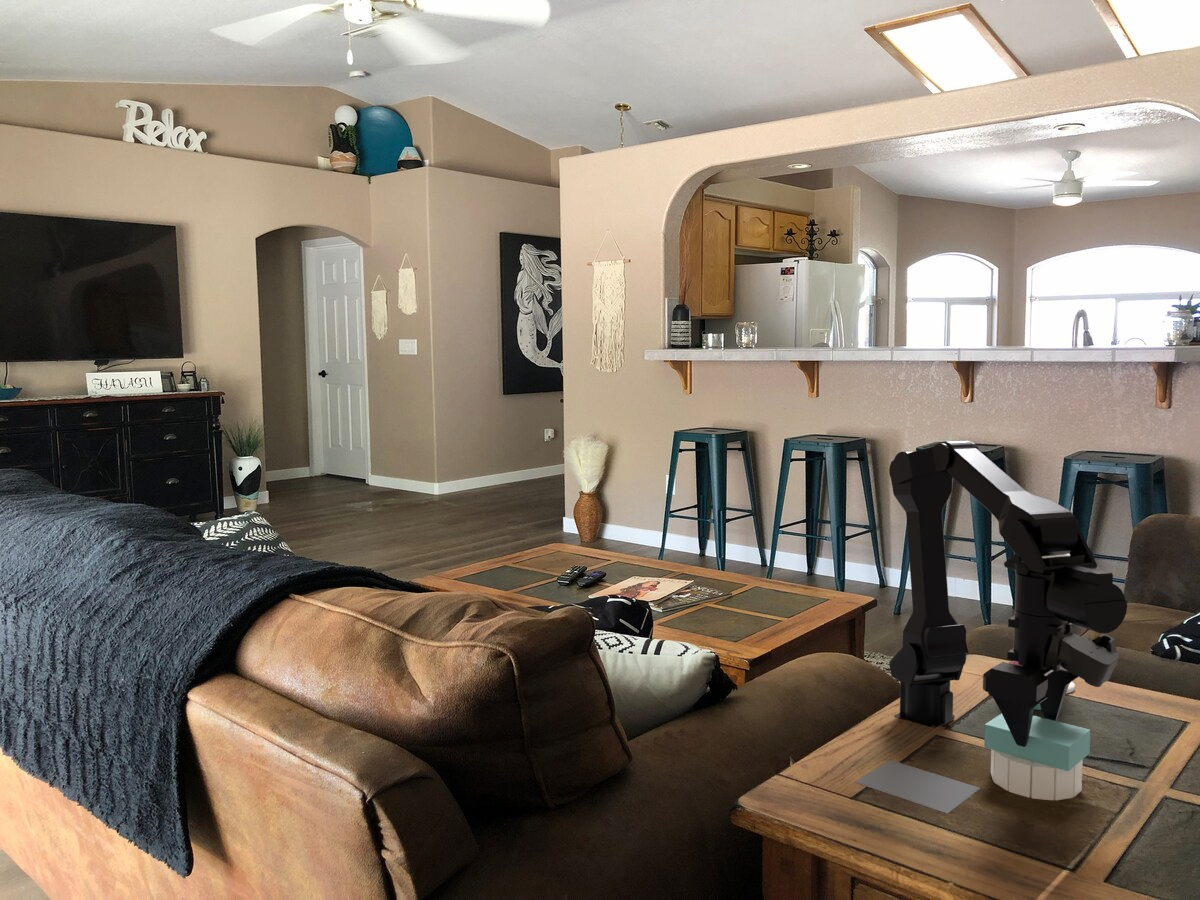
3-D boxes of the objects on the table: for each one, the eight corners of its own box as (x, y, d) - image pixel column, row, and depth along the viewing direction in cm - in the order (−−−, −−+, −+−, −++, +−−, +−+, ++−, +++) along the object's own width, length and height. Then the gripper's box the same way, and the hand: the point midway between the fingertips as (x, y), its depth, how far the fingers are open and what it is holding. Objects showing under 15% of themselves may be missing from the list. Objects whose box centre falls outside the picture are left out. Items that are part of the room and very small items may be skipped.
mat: (854, 786, 119) (854, 781, 119) (890, 764, 125) (890, 759, 125) (947, 818, 110) (947, 813, 110) (980, 792, 117) (980, 788, 117)
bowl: (977, 786, 119) (978, 751, 118) (1010, 761, 126) (1011, 728, 125) (1062, 812, 112) (1063, 775, 111) (1092, 784, 119) (1093, 749, 118)
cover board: (984, 747, 119) (984, 724, 119) (1007, 731, 124) (1008, 709, 124) (1068, 771, 112) (1069, 746, 112) (1089, 753, 117) (1090, 729, 117)
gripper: (1083, 641, 104) (1078, 778, 106) (1137, 607, 117) (1132, 730, 119) (982, 622, 112) (979, 750, 114) (1043, 592, 125) (1039, 708, 127)
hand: (1036, 734), depth 118 cm, fingers open, 9 cm apart
